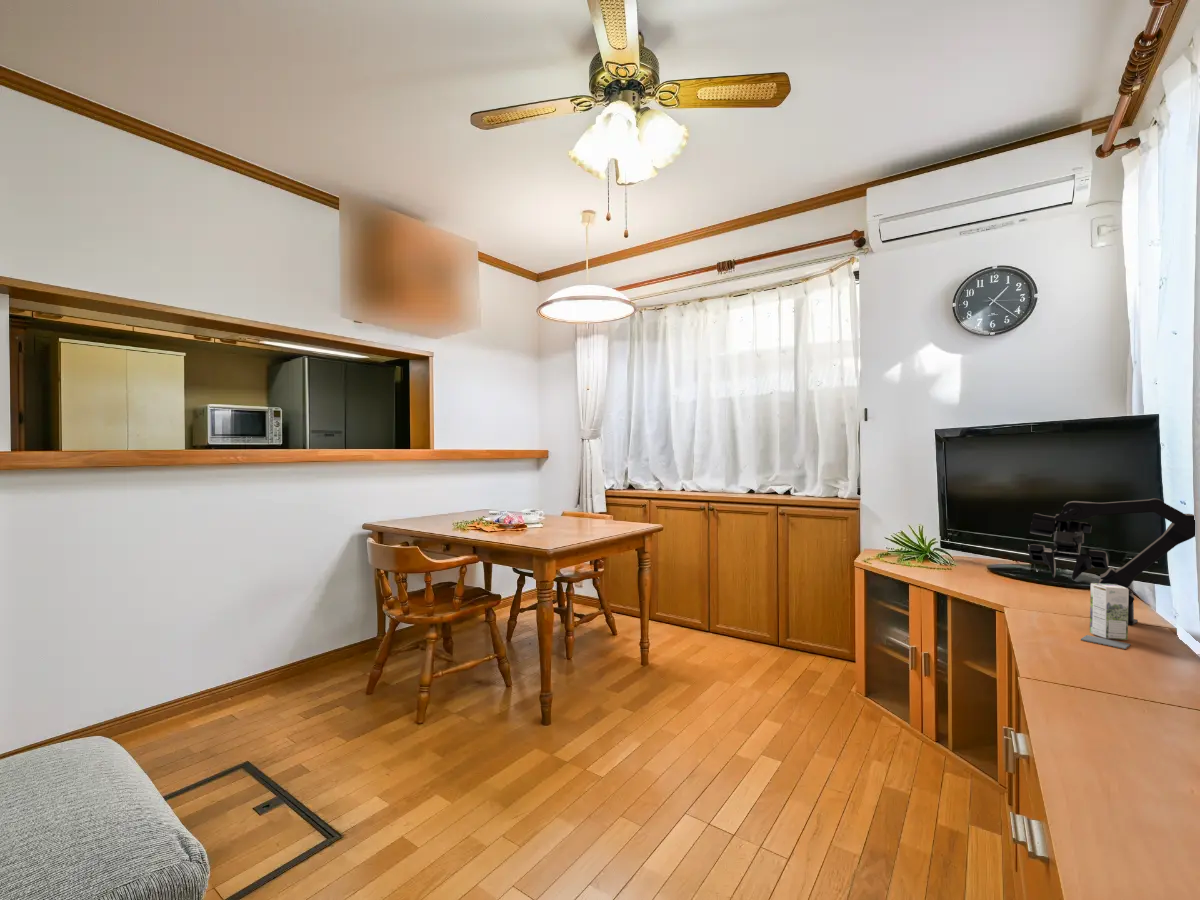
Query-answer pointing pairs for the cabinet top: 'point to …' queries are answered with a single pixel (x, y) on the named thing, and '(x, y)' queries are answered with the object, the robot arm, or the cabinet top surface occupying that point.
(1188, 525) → the robot arm
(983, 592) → the cabinet top surface
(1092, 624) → the syrup box
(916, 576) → the cabinet top surface
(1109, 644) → the slate mat
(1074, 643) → the cabinet top surface
